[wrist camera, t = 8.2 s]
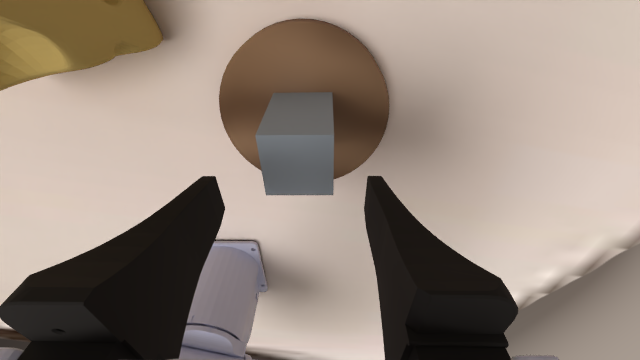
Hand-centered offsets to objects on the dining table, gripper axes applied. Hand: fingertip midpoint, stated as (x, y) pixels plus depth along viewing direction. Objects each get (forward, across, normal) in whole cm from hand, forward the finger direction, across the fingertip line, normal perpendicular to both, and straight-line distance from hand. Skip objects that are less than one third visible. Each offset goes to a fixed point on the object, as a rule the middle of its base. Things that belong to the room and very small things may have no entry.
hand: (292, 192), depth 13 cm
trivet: (+10, 0, 0) cm, 10 cm away
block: (+8, 0, 0) cm, 8 cm away
